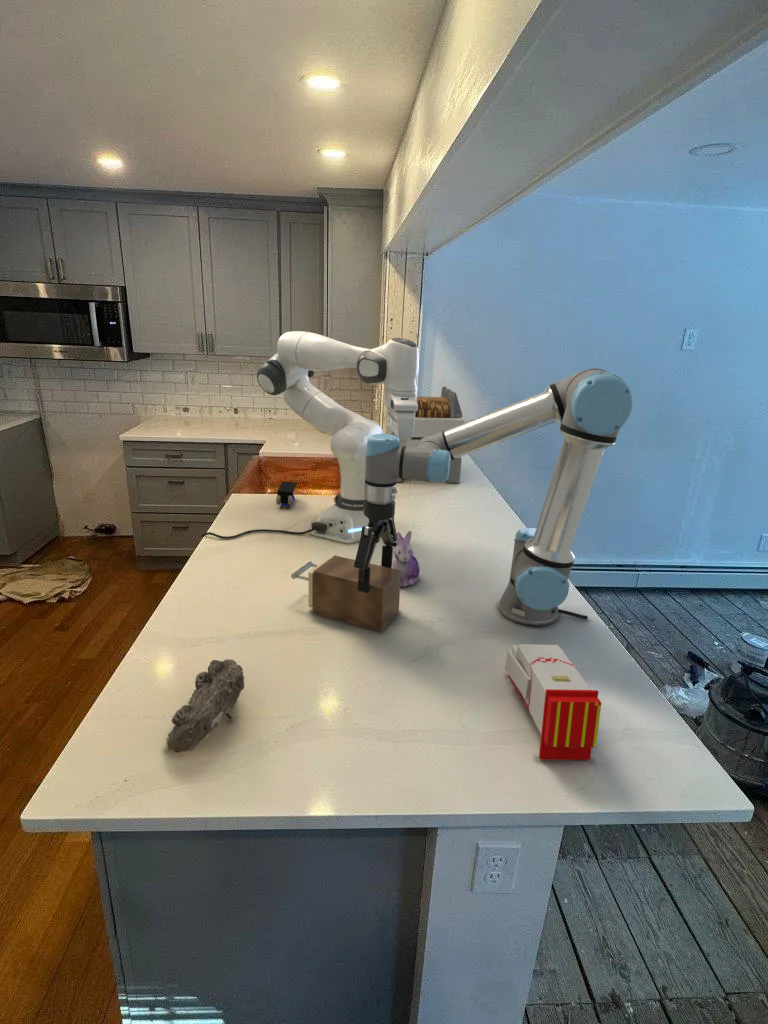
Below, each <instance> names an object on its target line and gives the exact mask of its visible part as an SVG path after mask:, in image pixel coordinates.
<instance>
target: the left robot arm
mask: <svg viewBox="0 0 768 1024" xmlns="http://www.w3.org/2000/svg"><path fill="white" fill-rule="evenodd" d="M276 351H277V352H276V353H275V354H273V356H271V357H270V358H269V359H268V360H267V361H265V362H263V363H262V365H261V366H259V368H258V370H257V371H256V379H257V383H258V385H259V386H260V388H261V389H262V390H263V391H264V392H265V393H267V394H268V395H271V396H278V395H280V394H282V397H283V400H284V402H285V403H286V405H287V406H288V407H289V408H290V409H291V410H292V411H293V412H294V413H295V414H297V416H299V417H300V418H301V419H302V420H304V421H305V422H307V423H308V424H309V425H310V426H312V427H313V428H314V429H316V430H317V431H318V432H320V433H321V434H323V435H327V436H331V438H330V445H329V446H330V451H331V454H332V455H333V456H334V457H335V458H336V459H337V463H338V468H339V474H340V475H339V476H340V488H339V489H340V490H339V491H338V492H337V494H336V495H335V496H334V497H333V502H334V504H333V505H331V506H329V507H328V508H326V509H325V510H323V512H321V514H320V515H319V517H318V521H314V522H311V529H308V530H304V531H289V530H282V529H269V528H268V529H266V528H265V529H263V528H261V529H250V530H246V531H242V532H241V533H238V534H234V535H229V536H224V535H220V534H217V533H214V532H211V531H209V532H204V533H203V534H202V535H200V537H201V538H204V537H205V536H213V537H215V538H219V539H224V540H230V539H236V538H238V537H241V536H243V535H246V534H251V533H263V532H265V533H266V532H267V533H283V534H289V535H306V534H308V533H311V536H315V537H319V538H323V539H326V540H330V541H336V542H339V543H343V544H352V543H357V542H360V538H361V531H362V526H366V527H367V526H368V523H369V519H368V518H367V517H366V516H365V515H364V513H363V510H364V500H365V498H364V486H365V466H366V456H365V454H366V450H367V440H368V438H369V437H370V436H372V435H375V434H384V430H383V428H382V426H381V425H380V424H379V423H378V422H377V421H374V420H371V419H368V418H366V417H363V416H362V415H360V414H358V413H357V412H355V411H352V410H350V409H348V408H346V407H344V406H343V405H341V404H339V403H338V402H337V401H335V400H334V399H332V397H329V396H328V395H326V394H325V393H324V392H323V391H322V390H320V389H319V388H317V387H315V386H314V384H312V383H311V381H310V379H309V378H312V377H313V376H314V375H315V372H329V371H336V370H343V369H356V373H357V376H358V378H359V379H360V380H361V381H362V382H363V383H365V384H367V385H372V386H373V385H383V384H384V401H383V402H384V404H383V405H384V406H385V407H386V408H387V407H388V414H387V423H386V426H388V427H389V428H390V429H391V435H394V436H397V437H398V438H399V443H400V445H401V446H405V445H406V440H411V438H412V435H413V429H414V421H415V412H416V411H417V410H418V404H417V395H418V386H417V379H418V376H419V369H420V368H419V366H420V365H419V363H420V355H419V354H420V353H419V348H418V345H417V344H416V343H415V342H414V341H413V340H411V339H407V338H401V337H392V338H390V339H389V340H388V341H387V342H386V343H384V344H381V345H380V346H377V347H374V348H367V347H362V346H358V345H357V346H356V345H352V344H349V343H346V342H344V341H339V340H337V339H334V338H331V337H328V336H325V335H323V334H318V333H315V332H311V331H304V330H292V331H291V330H290V331H286V332H284V333H283V334H281V335H280V337H279V338H278V340H277V344H276Z"/></svg>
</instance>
